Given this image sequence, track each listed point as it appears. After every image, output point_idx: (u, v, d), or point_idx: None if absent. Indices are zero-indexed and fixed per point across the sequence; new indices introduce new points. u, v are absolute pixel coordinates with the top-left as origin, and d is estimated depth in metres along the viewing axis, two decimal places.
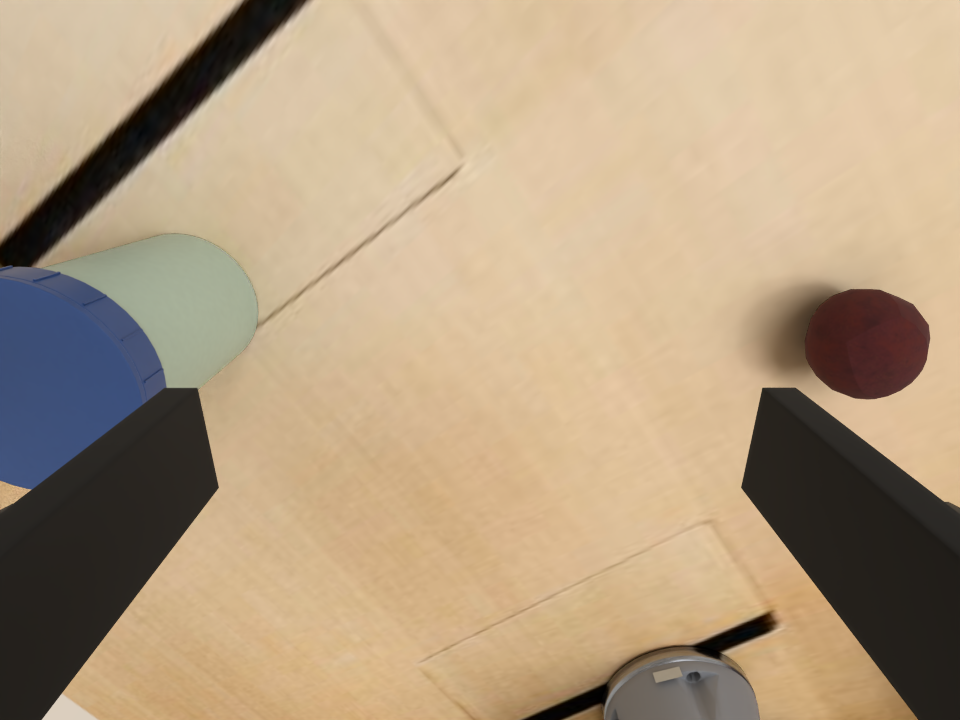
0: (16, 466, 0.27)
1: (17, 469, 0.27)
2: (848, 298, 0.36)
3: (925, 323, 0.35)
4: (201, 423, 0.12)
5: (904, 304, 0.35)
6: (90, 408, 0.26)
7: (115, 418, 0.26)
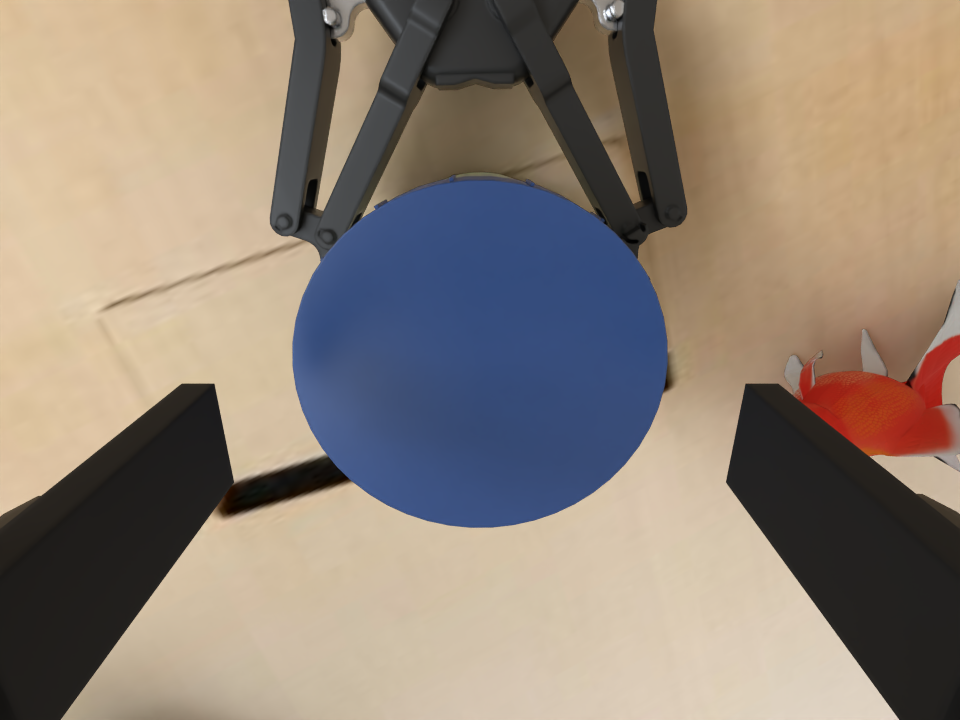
0: (579, 265, 0.15)
1: (581, 259, 0.15)
2: None
3: None
4: (217, 419, 0.13)
5: None
6: (389, 321, 0.16)
7: (356, 293, 0.15)
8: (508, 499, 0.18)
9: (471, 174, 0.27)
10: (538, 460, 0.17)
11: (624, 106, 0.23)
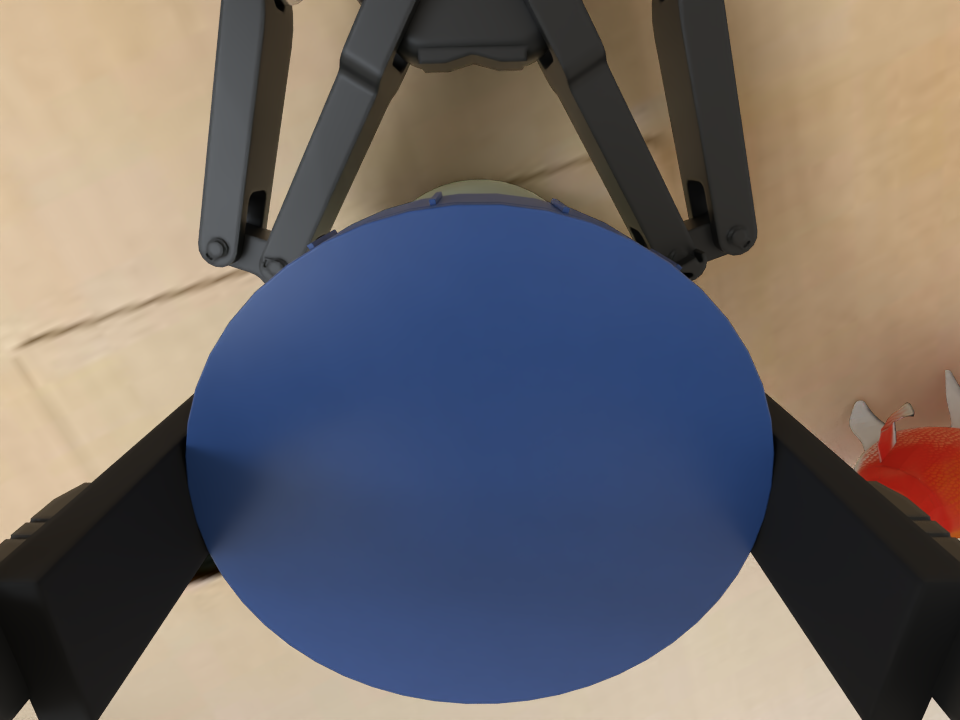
0: (641, 340, 0.09)
1: (646, 331, 0.09)
2: None
3: None
4: None
5: None
6: (335, 425, 0.10)
7: (282, 383, 0.10)
8: (521, 668, 0.12)
9: (468, 183, 0.21)
10: (567, 618, 0.12)
11: (672, 94, 0.17)
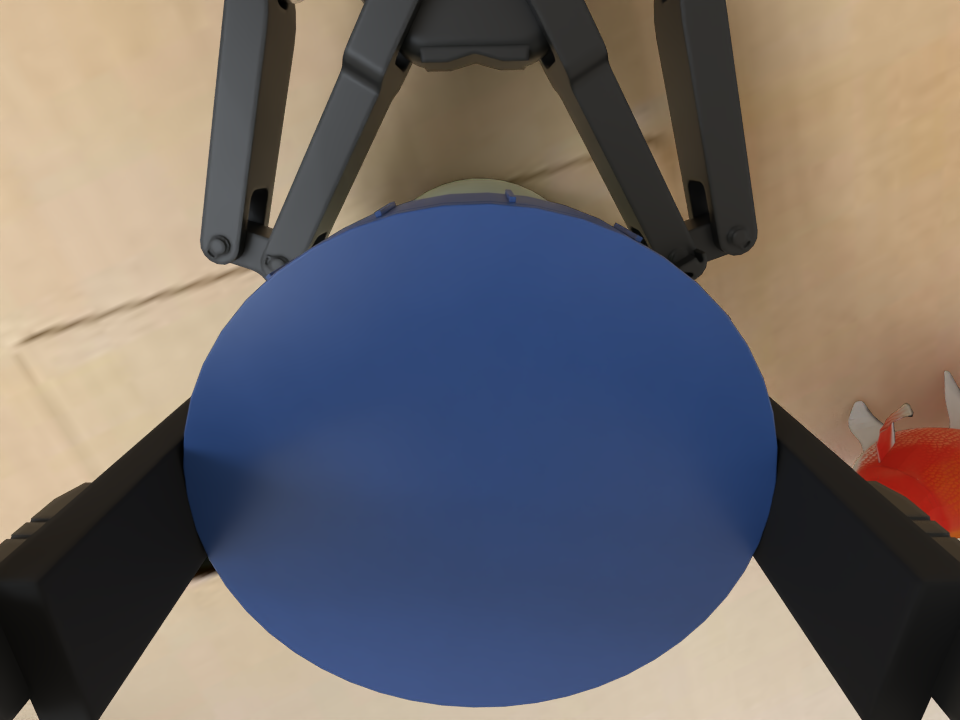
0: (250, 481, 0.10)
1: (241, 483, 0.10)
2: None
3: None
4: None
5: None
6: (476, 628, 0.12)
7: (464, 667, 0.12)
8: (672, 354, 0.09)
9: (470, 182, 0.21)
10: (569, 353, 0.09)
11: (674, 94, 0.17)
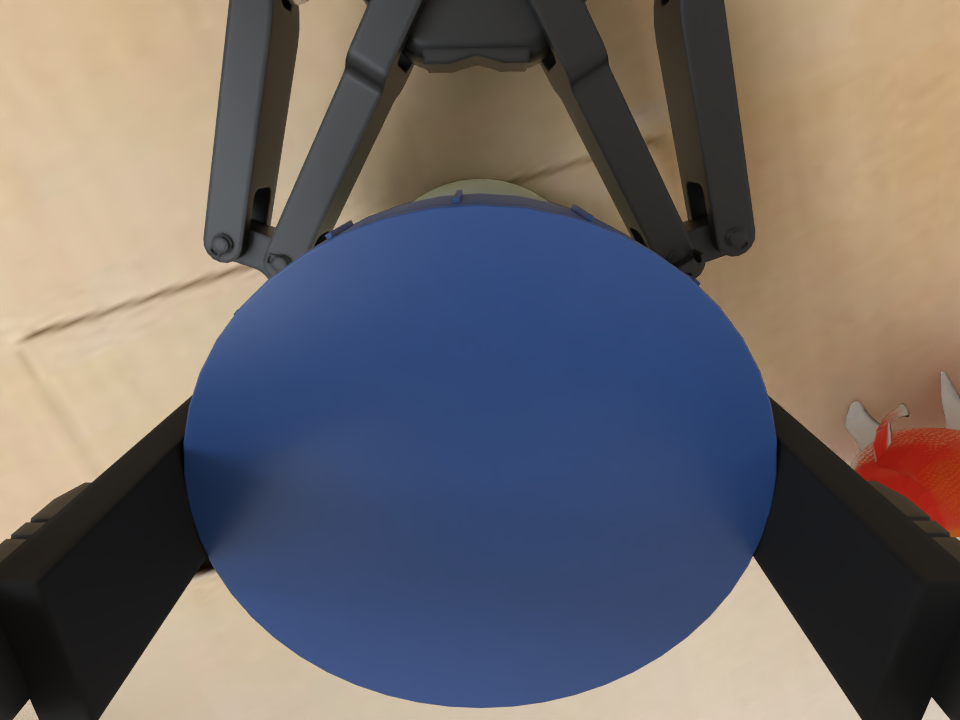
0: (561, 657, 0.12)
1: (566, 662, 0.12)
2: None
3: None
4: None
5: None
6: (629, 435, 0.10)
7: (695, 416, 0.10)
8: (241, 456, 0.10)
9: (471, 182, 0.21)
10: (301, 522, 0.11)
11: (673, 96, 0.17)
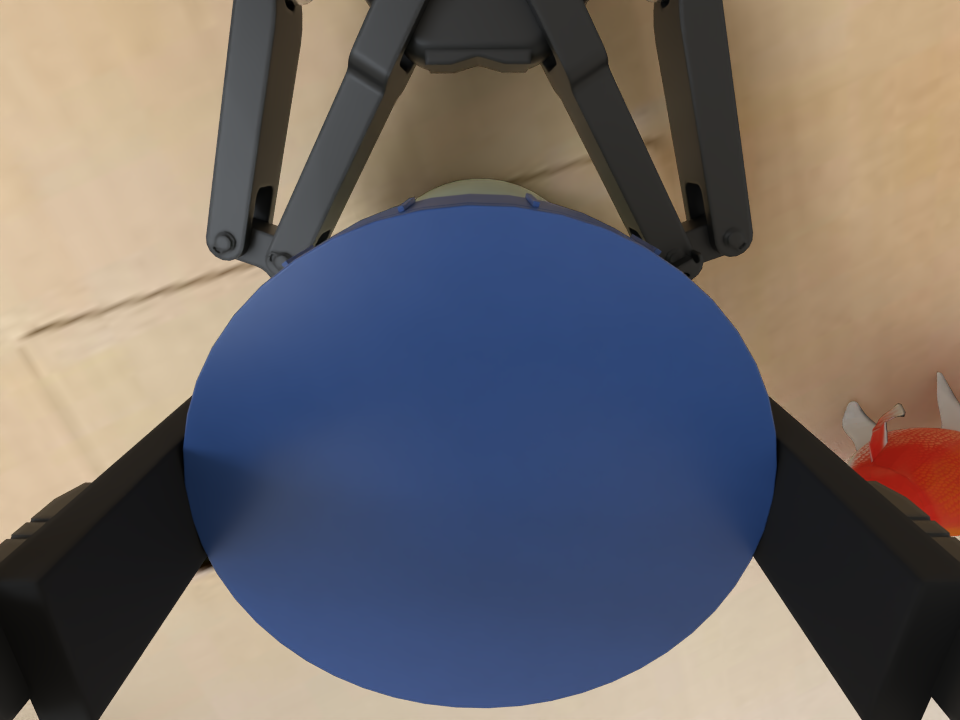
0: (625, 329, 0.09)
1: (629, 319, 0.09)
2: None
3: None
4: None
5: None
6: (327, 440, 0.10)
7: (270, 402, 0.10)
8: (540, 669, 0.12)
9: (471, 182, 0.22)
10: (581, 615, 0.11)
11: (672, 98, 0.17)
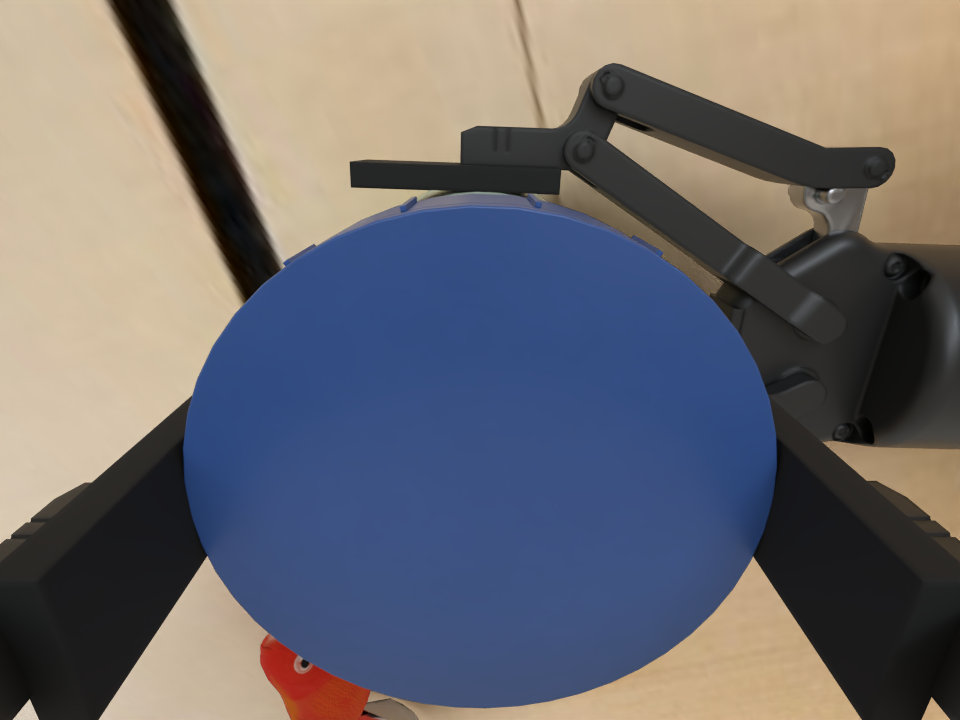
0: (627, 330, 0.09)
1: (630, 320, 0.09)
2: None
3: None
4: None
5: None
6: (328, 439, 0.10)
7: (271, 401, 0.10)
8: (539, 669, 0.12)
9: None
10: (580, 616, 0.11)
11: None
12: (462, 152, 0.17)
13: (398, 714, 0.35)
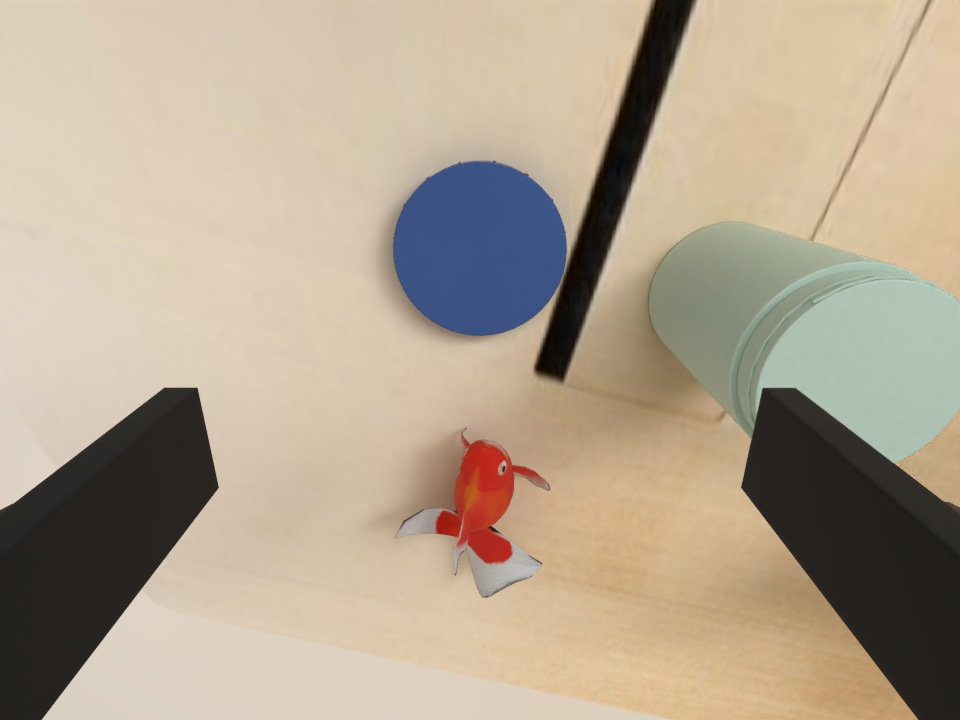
0: (519, 195, 0.34)
1: (519, 193, 0.34)
2: None
3: None
4: (201, 423, 0.12)
5: None
6: (436, 230, 0.34)
7: (421, 218, 0.34)
8: (499, 317, 0.37)
9: None
10: (512, 295, 0.36)
11: None
12: None
13: None
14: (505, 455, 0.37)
